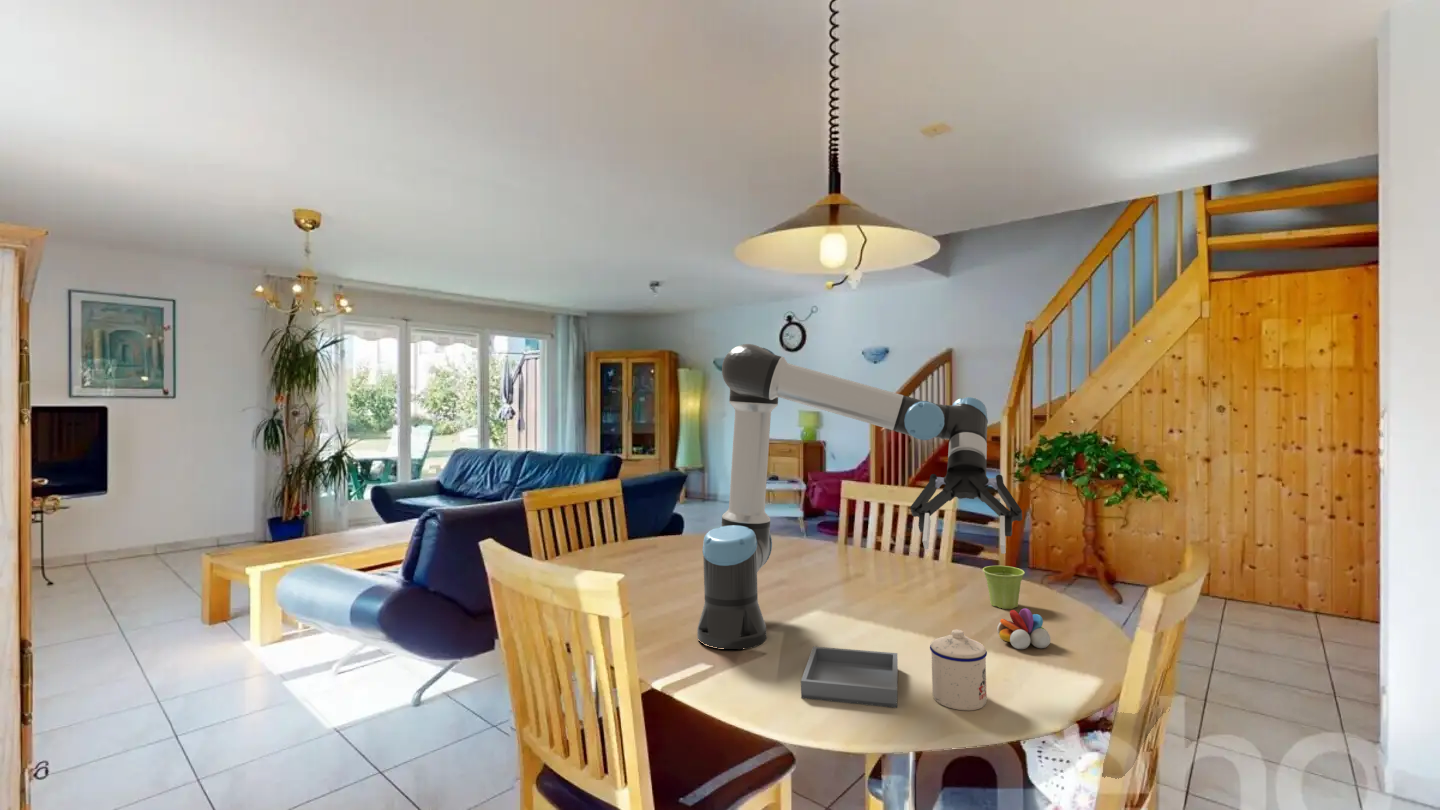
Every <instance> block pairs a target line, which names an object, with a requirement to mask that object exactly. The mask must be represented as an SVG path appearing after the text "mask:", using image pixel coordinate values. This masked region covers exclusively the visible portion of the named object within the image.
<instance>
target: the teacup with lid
mask: <svg viewBox="0 0 1440 810" xmlns="http://www.w3.org/2000/svg"><path fill="white" fill-rule="evenodd" d="M929 650H930V652H931V681H932V682H931V684H932V685H931V686H932V689H931V690H932V693H931V694H932V696H933V699H934V700H935V702H937V703H938V704H939V705H942V706H944V707H946V708H949V709H953V710H958V711H975V710H979V709H982V708H983V707H984V706H986V704H987V701H988V700H987V669H986V668H987V664H986V663H987V662H986V657H987V655H988V651H987V648H986V647H985V646H984V644H982V643H981V642H979V641H977V640H975V639H972V638H970V637H969V636H966V635H965V633H964V631H963V630H961V629H952V631H951V634H947V635H945V636H941V637H937V638H935V639H933V640H932V641H931V642H930V646H929Z"/></svg>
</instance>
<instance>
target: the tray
mask: <svg viewBox="0 0 1440 810" xmlns="http://www.w3.org/2000/svg"><path fill="white" fill-rule="evenodd" d="M898 663H899V662H898V652H889V651H875V650H863V649H850V648H838V647H825V646H812V649H811V651H810V654H809V657H808V660H807V663H806V664H805V668H804V671H803V675H802V676H801V679H800V695H801V697H800V698H801V699H805V698H807V700H816V701H827V702H835V703H836V702H837V703H846V704H854V705H864V706H875V707H885V708H894V709H895V708H896V709H898V682H899V681H898V680H899V679H898V676H899V675H898V673H899V671H898V670H899V668H898V667H899V666H898Z"/></svg>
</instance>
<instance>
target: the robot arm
mask: <svg viewBox="0 0 1440 810" xmlns="http://www.w3.org/2000/svg"><path fill="white" fill-rule="evenodd" d="M721 375H722V379H723V381H724V383H725V384H726V386H727V387H728V388H729V398H728V399H729V400H728V402H729V404H730V405H731V406H732V408H733V409H734V423H733V435H732V436H733V437H732V438H733V439H732V440H733V441H732V455H731V470H730V483H729V484H730V485H729V487H730V488H729V501H728V503H729V504H728V509H727V510H726V511H725V512H724V513H723V514H722V516H721V526H719V527H718V528H717V527H714V528H713V529H710V530H709V531H708V532H706V534H704V537H703V542H702V543H703V544H702V555H703V556H702V557H703V580H704V581H703V583H704V584H703V586H704V587H703V588H704V590H703V591H704V604H703V608H702V611H701V614H700V618H699V621H698V625H697V631H696V632H697V633H696V634H697V640H698V639H699V640H700V641H701V642H703V643H704V644H707V645H709V646H713V647H717V648H724V649H742V650H744V649H743V648H748V649H752V648H755V647H758V646H760V645H762V644H764V642H765V641H767V635H768V634H767V625H766V622H765V619H764V617H763V613H762V610H761V607H760V605H759V601H758V600H759V599H758V572H759V571H760V570H761V568H762V567H763V566H764V565H766V563H767V561H768V560H769V559H770V556H771V553H772V550H773V539H772V536H771V532H770V531H771V517H770V516H769V515H768V514H767V513H766V510H765V509H766V496H767V495H766V494H767V480H768V479H767V478H768V465H769V464H768V463H769V448H770V447H769V446H770V433H771V432H770V431H771V416H772V412H773V410H774V409H776V407H778V406H779V399H780V398H781V399H783V400H787V401H791V402H794V403H797V404H801V405H805V406H808V407H810V408H811V407H812V408H815V409H819V410H821V411H825V412H828V413H832V414H836V415H839V416H843V417H845V418H849V419H852V420H857V421H861V422H863V423H867V424H870V425H874V426H877V427H881V428H884V429H887V430H891V431H894V432H897V433H901V434H904V435H906V436H911V437H913V438H914V439H917V440H921V441H930V440H931V439H935V438H937V439H942V440H948V450H947V451H948V453H947V454H948V455H947V467H946V475H945V476H944V477H941V476H937V474H936V473H931V474H930V475H929V482H927V484H926V486H924V488H922V489H923V490H921V491H920V493H919V494H918V496H917V498H916V499H915V500H914V501H913V503H912V504H911V505H910V506H909V507H910V512H911V515H912V516H913V517H914V518H916V517H918V529H919V532H920V533H922V543H923V545H922V546H923V548H924V550H928V549H929V547H930V534H931V525H932V524H931V523H932V520H931V516H932V515H933V514H934V513H936V512H937V511H938V510H939V509H940V508H941V507H943V506H945V505H946V504H947V503H948V502H951V501H952V500H953V499H955V498H957V499H960V500H961V499H962V500H963V499H970V500H974V499H975V498H978V499H979V500H980V501H981V502H982V503H985V504H986V505H987V506H988V507H989V508H990V509H991V510H992V511H993V512H994V513H995V514H996V515H997V516H998V517H1000V518H999V519H1000V520H999V521H1000V522H999V533H1000V534H999V537H1000V538H999V539H1000V540H999V541H1000V543H999V545H1000V554H1006V550H1007V549H1006V537H1012V535H1013V522H1015V521H1017V522H1021V521H1022V520H1023V509H1022V508H1021V507H1020V505H1019V504H1018V503H1017V500H1016V499H1015V498H1014V497H1013V495H1012V494H1011V492H1010V491H1009V489H1008V488H1007V486H1006V484H1004V477H1003V476H1002V475H1001V474H996V476H995V477H990V478H988V476H987V451H988V447H987V446H988V444H987V442H988V441H987V440H988V439H987V438H988V422H989V418H988V413H987V412H988V411H987V407H986V405H985V403H984V402H982V401H981V400H980V399H977V398H976V397H970V396H966V397H962V398H961V397H960V398H958V399H956V400H955V401H954V402H952V405H950V404H949V405H948V404H940V403H934V402H931V401H927V400H922V399H919V398H914V397H911V396H907V395H903V394H901V393H897V392H893V391H889V390H885V389H883V388H878V387H875V386H871V385H867V384H864V383H860V382H857V381H853V380H849V379H847V378H842V377H838V376H834V375H831V374H827V373H824V372H822V371H817V370H815V369H814V370H813V369H810V368H807V367H803V366H800V365H796V364H792V363H788V361H787V360H786V358H785V357H784V356H782V355H781V356H780V355H778V354H775V353H774V352H773V351H771V350H770V349H767V348H766V347H760V346H759V345H756V344H751V343H744V344H740V345H737V346H735V347H732V349H731V350H729V351H728V352H727V354H725V357H724V359H723V361H722V365H721ZM942 485H944V487H943V488H942V490H941V491H940V492H939V493H937V494H936V495H935V493H936V492H937V489H940V487H941V486H942ZM989 486H991V487H992V488H993V489H994V490H996V491H997V493H998V495H999V496H1000V498H1001V500H1002V501H1003V502H1004V504H1005V505H1004V504H1002V503H1001V502H1000V501H999V500H998V499H997V498H996V497H995V496H994V495H993V494H992V493H991V492H990V491H988V487H989ZM934 495H935V496H934ZM933 496H934V497H933ZM931 498H932V499H931ZM751 647H752V648H751Z"/></svg>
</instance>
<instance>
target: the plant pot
mask: <svg viewBox="0 0 1440 810" xmlns="http://www.w3.org/2000/svg"><path fill="white" fill-rule="evenodd" d="M982 572H983V573H984V576H985V578H986V579H985V580H986V582H987V583H986V584H987V589H988V596H989V602H990V605H991V606H992V607H998V609H1001V608H1002V610H1014V609H1015V608H1018V606H1019V605H1018V604H1019V598H1020V591H1021V584H1022V580H1023V577H1024V576H1025V574H1026V572H1025V571H1024V570H1023V569H1021V568H1018V567H1014V566H1009V565H989V566H984V567H983V568H982Z"/></svg>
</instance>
